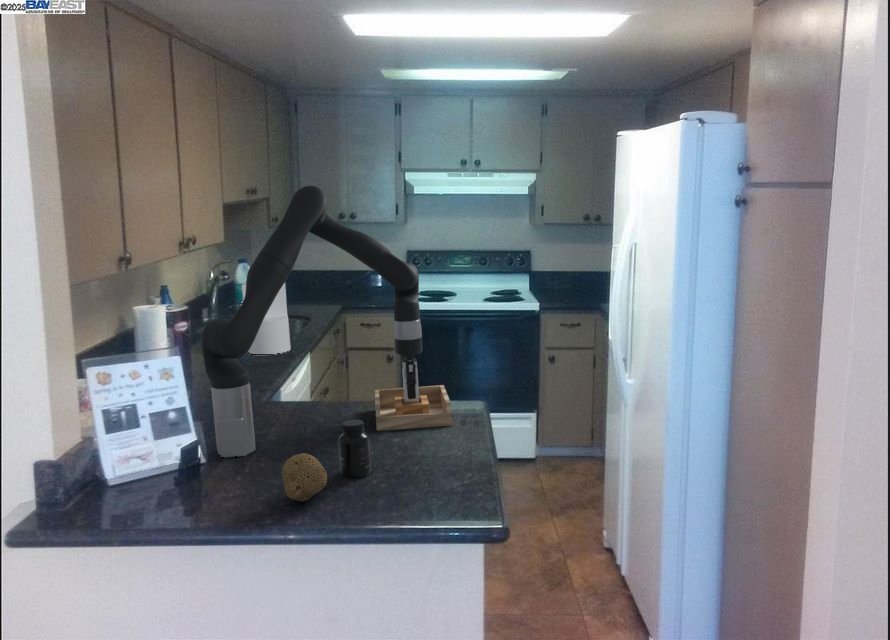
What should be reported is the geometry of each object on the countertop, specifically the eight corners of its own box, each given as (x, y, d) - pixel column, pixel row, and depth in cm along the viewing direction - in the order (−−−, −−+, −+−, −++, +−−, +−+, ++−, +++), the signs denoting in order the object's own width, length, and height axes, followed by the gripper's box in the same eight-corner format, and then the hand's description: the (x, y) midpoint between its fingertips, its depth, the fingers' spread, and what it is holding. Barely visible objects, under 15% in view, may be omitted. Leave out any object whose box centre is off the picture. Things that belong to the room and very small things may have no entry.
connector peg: (419, 412, 208) (417, 370, 206) (405, 413, 208) (402, 371, 206) (418, 408, 212) (416, 366, 210) (404, 409, 211) (402, 367, 209)
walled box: (452, 425, 201) (451, 403, 200) (376, 430, 199) (375, 409, 198) (444, 404, 221) (443, 385, 220) (376, 409, 219) (374, 389, 218)
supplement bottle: (334, 477, 168) (330, 425, 166) (352, 466, 174) (348, 416, 172) (360, 481, 165) (356, 428, 163) (377, 470, 171) (373, 419, 169)
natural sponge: (330, 490, 160) (327, 445, 158) (325, 508, 151) (322, 460, 150) (287, 493, 160) (284, 448, 158) (280, 510, 151) (276, 463, 149)
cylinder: (244, 349, 315) (238, 283, 311) (285, 344, 322) (280, 279, 318) (252, 357, 300) (246, 287, 295) (295, 351, 307) (289, 283, 302)
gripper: (423, 340, 199) (426, 401, 202) (419, 330, 213) (422, 388, 216) (395, 341, 199) (398, 403, 202) (393, 332, 213) (396, 390, 216)
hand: (411, 395), depth 209 cm, fingers open, 5 cm apart
